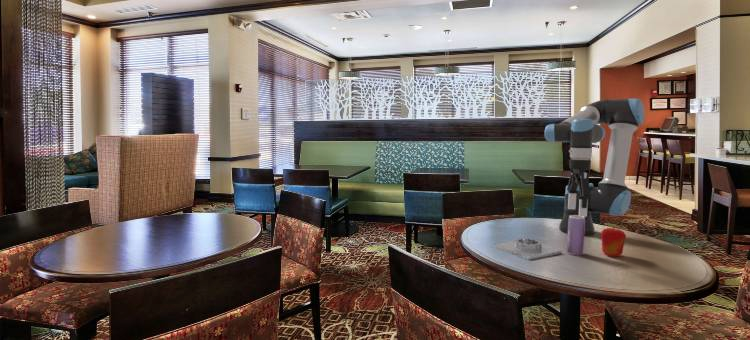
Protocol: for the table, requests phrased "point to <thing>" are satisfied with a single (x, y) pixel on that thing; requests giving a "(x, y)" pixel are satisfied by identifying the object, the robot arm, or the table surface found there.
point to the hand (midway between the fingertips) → (576, 212)
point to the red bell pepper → (613, 241)
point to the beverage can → (576, 234)
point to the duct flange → (528, 248)
